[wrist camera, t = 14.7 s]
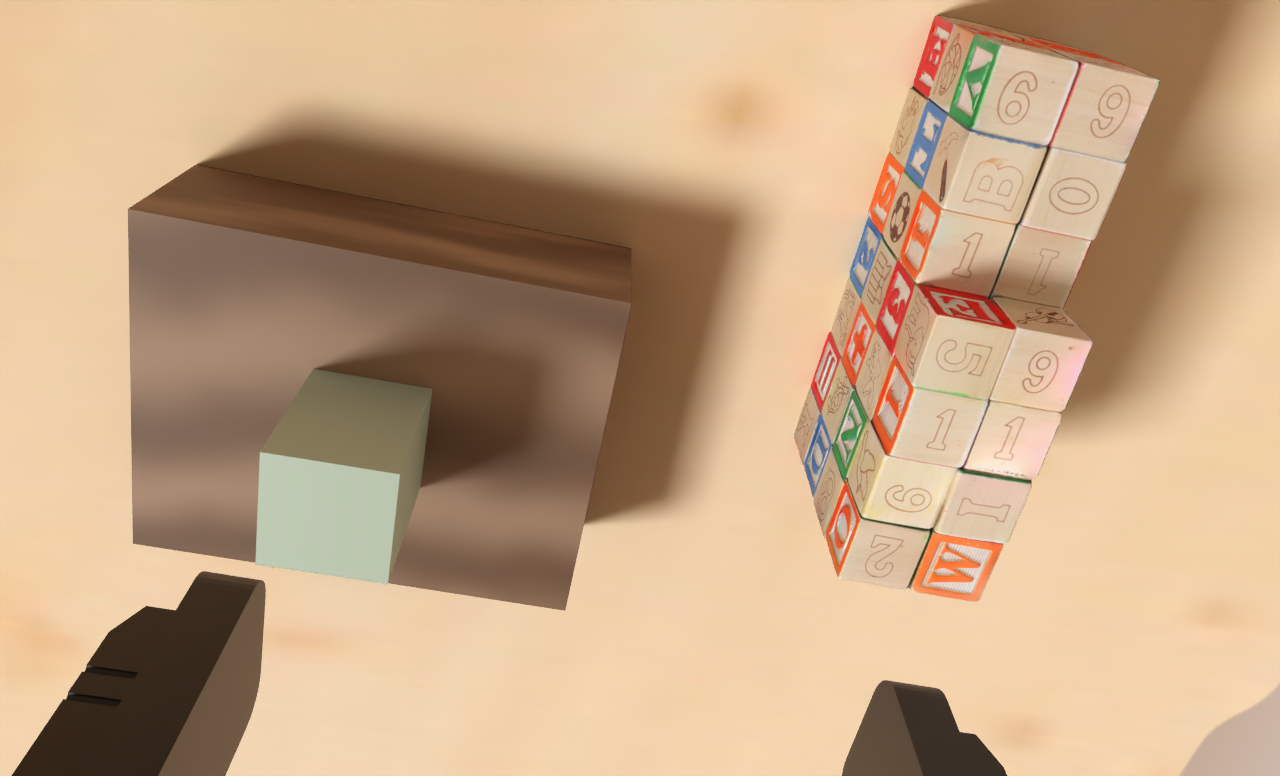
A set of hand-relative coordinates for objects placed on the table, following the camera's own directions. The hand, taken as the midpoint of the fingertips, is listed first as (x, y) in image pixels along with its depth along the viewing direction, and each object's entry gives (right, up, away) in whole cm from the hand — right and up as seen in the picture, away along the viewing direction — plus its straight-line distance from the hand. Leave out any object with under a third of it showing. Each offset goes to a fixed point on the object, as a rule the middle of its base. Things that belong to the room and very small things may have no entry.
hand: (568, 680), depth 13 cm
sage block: (-11, +2, +31) cm, 33 cm away
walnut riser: (-11, +5, +37) cm, 39 cm away
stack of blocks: (+14, +10, +36) cm, 40 cm away
